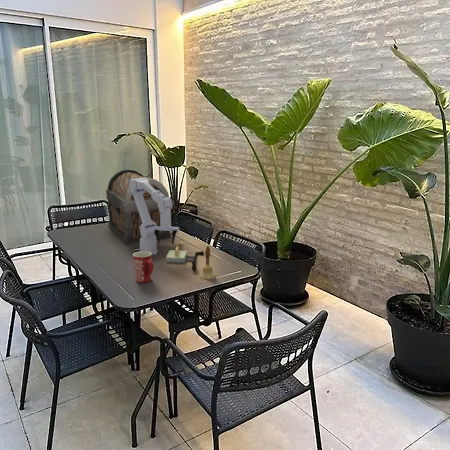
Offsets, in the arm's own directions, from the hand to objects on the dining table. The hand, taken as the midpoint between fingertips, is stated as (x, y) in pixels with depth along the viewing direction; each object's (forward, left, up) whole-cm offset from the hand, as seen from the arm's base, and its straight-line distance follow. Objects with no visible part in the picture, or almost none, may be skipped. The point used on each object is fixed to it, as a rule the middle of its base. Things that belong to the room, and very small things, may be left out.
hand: (166, 243), depth 232 cm
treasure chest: (-27, +51, -10) cm, 58 cm away
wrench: (+18, -5, -10) cm, 21 cm away
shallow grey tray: (+6, 0, -9) cm, 11 cm away
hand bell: (+25, -24, -9) cm, 36 cm away
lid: (+6, 0, -7) cm, 9 cm away
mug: (-5, -32, -9) cm, 34 cm away
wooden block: (+6, +10, -9) cm, 15 cm away
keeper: (+13, 0, -9) cm, 16 cm away
